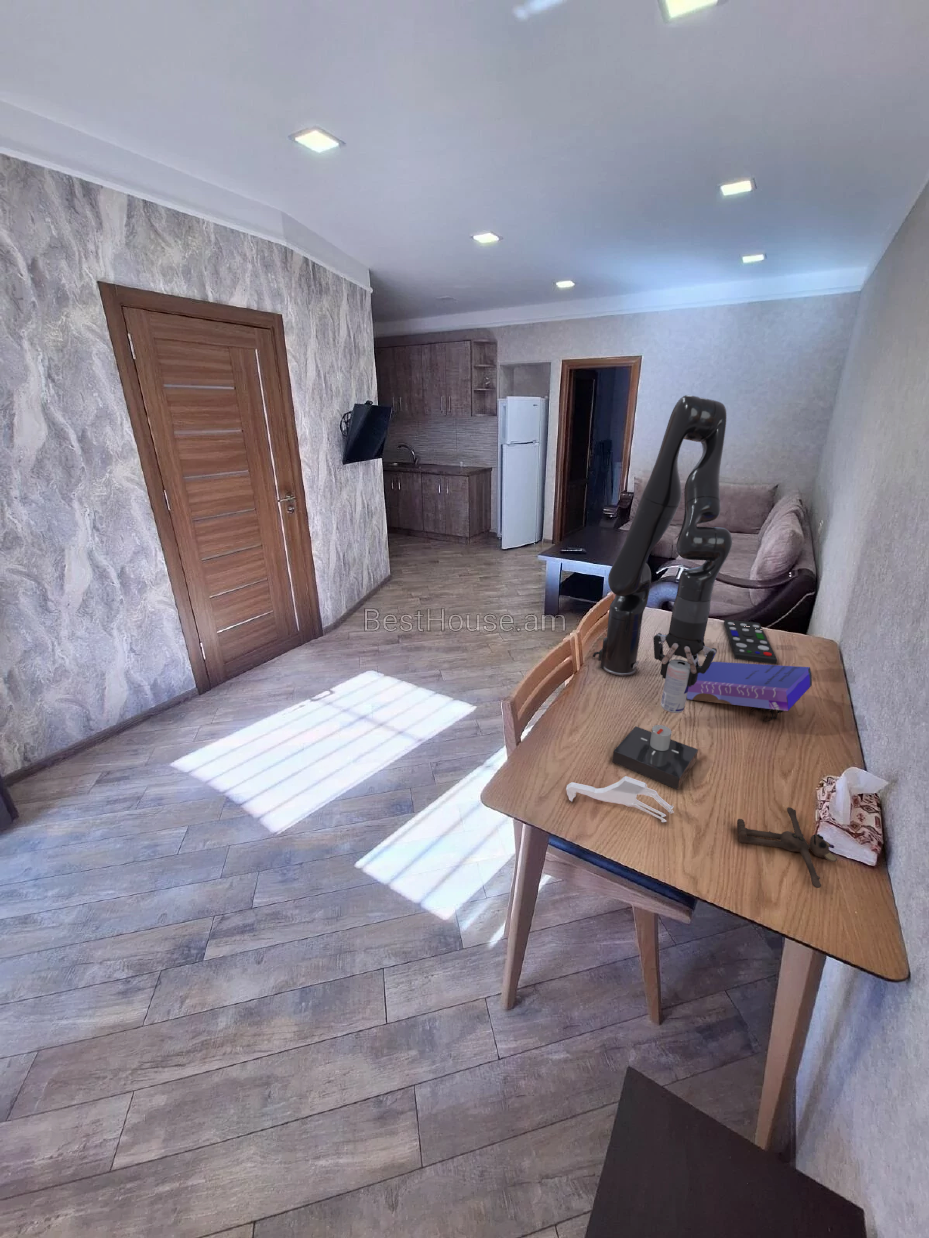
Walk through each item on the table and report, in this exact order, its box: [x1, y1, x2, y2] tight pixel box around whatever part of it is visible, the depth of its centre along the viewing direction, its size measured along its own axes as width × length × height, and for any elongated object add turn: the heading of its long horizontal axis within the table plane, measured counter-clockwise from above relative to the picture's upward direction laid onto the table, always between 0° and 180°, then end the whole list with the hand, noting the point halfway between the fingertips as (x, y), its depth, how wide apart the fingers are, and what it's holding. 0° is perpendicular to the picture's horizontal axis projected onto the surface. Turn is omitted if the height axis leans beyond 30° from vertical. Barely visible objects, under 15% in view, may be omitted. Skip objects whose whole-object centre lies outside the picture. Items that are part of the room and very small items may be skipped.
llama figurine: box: [565, 775, 675, 823], centre depth 95 cm, size 2×11×18 cm
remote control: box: [723, 618, 778, 665], centre depth 166 cm, size 11×30×2 cm, turn 160°
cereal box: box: [686, 661, 813, 712], centre depth 129 cm, size 17×5×24 cm
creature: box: [750, 707, 784, 722], centre depth 125 cm, size 8×5×8 cm
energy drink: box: [660, 658, 691, 714], centre depth 120 cm, size 5×5×12 cm
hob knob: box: [650, 724, 673, 751], centre depth 109 cm, size 4×4×4 cm
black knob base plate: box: [611, 725, 699, 791], centre depth 109 cm, size 14×12×3 cm
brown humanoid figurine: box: [736, 806, 838, 889], centre depth 87 cm, size 18×4×14 cm
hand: (677, 680), depth 119 cm, fingers closed on energy drink, 5 cm apart
